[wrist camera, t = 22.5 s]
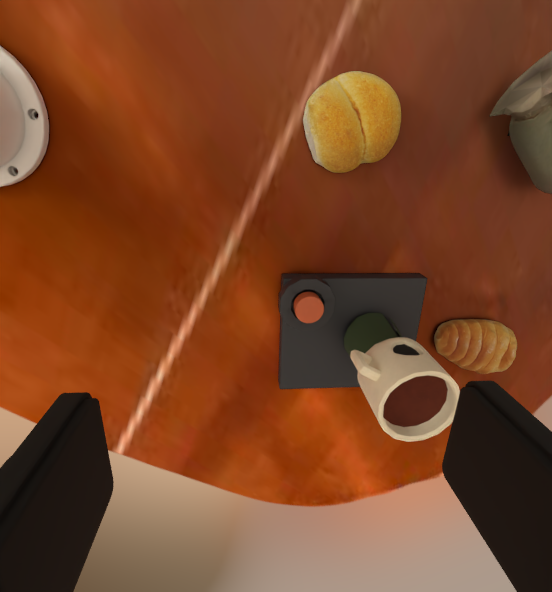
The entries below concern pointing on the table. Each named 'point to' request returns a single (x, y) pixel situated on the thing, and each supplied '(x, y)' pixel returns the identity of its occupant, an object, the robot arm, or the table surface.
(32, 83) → the robot arm
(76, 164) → the table surface
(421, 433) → the character mug
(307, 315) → the button
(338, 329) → the scale
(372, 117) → the bread roll
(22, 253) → the table surface
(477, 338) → the pastry
